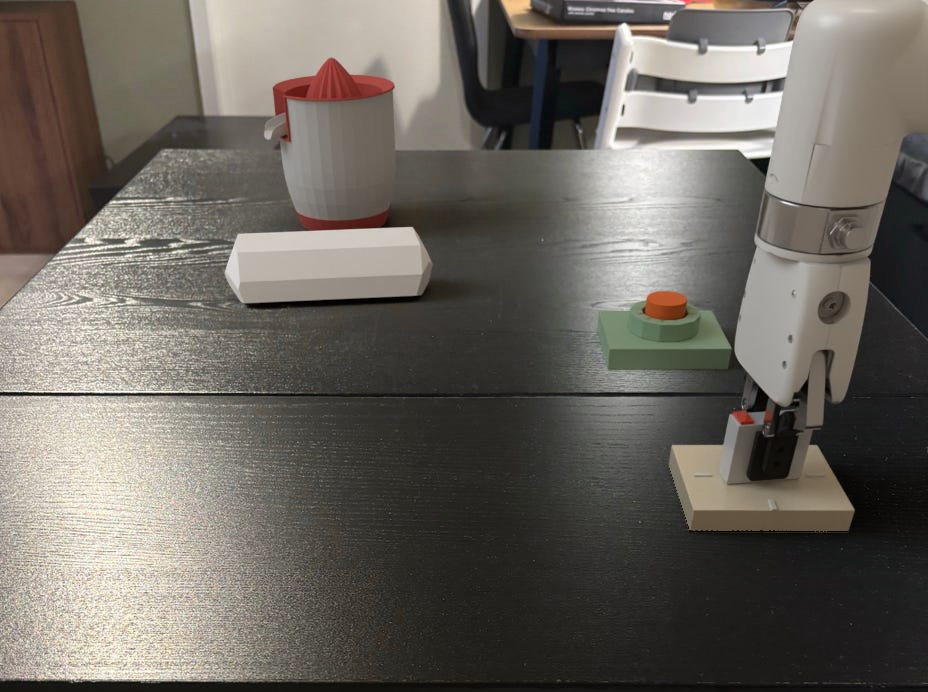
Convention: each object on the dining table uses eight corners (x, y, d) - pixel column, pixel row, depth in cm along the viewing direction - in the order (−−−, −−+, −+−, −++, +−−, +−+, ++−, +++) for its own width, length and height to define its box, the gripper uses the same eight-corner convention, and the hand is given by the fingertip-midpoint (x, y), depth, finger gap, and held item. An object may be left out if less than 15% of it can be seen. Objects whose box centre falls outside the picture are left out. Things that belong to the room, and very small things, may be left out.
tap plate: (811, 465, 79) (817, 442, 77) (848, 533, 71) (856, 509, 70) (668, 465, 79) (671, 442, 78) (689, 533, 71) (694, 508, 70)
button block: (708, 330, 101) (715, 293, 98) (728, 369, 93) (735, 330, 91) (596, 330, 101) (600, 293, 98) (607, 369, 93) (611, 330, 91)
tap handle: (789, 466, 75) (805, 405, 71) (800, 478, 73) (816, 417, 70) (717, 471, 74) (729, 410, 71) (726, 484, 73) (739, 423, 69)
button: (681, 307, 96) (683, 290, 95) (688, 322, 93) (690, 305, 92) (642, 307, 96) (644, 290, 95) (647, 322, 93) (649, 305, 92)
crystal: (218, 281, 102) (436, 271, 104) (218, 229, 105) (431, 221, 106) (230, 325, 109) (434, 316, 111) (230, 275, 112) (430, 267, 113)
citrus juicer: (263, 217, 133) (242, 53, 120) (379, 203, 138) (371, 43, 125) (291, 251, 122) (271, 74, 109) (416, 234, 127) (411, 62, 114)
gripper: (934, 259, 56) (851, 520, 68) (819, 186, 68) (766, 418, 80) (814, 266, 55) (751, 528, 67) (719, 191, 67) (680, 424, 79)
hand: (759, 467), depth 73 cm, fingers closed on tap handle, 2 cm apart
